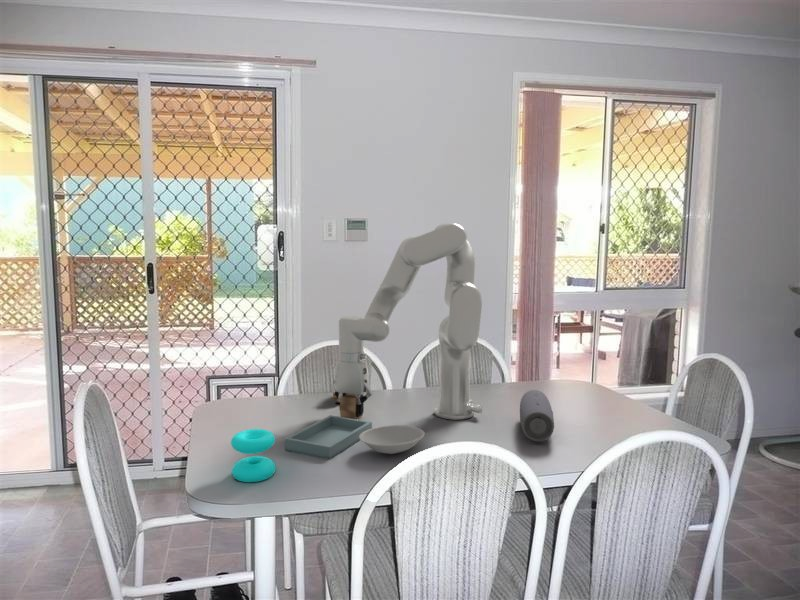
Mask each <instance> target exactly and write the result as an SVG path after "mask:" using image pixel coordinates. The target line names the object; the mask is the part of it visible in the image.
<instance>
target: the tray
mask: <svg viewBox="0 0 800 600" xmlns="http://www.w3.org/2000/svg"><path fill="white" fill-rule="evenodd" d="M371 428H373V422H372V421H367V420H361V419H358V420H356V419H350V418H344V417H340V416H337V415H331V414H330V415H328V416H326V417H324V418H322V419H320V420H318V421H316V422H314V423H312V424H310V425H309V426H307V427H305V428H302V429H300V430H299V431H297V432H295V433H293V434H291V435H289V436H287V437H285V438H284V450H285V452H286V451H287V452H290V453H291V452H293V453H295V454H303V455H306V456H309V457H310V456H311V457H315V458H321V459H326V460H332V459H333V458H335V457H336V456H338V455H340V454H341V453H343V452H345V451H347V450H348V449H349V448H350V447H352V446H353V445H355V444H357V443H359V442H361V440H360V439H359V435H360V434H361V433H362V432H364V431H366V430H368V429H371Z"/></svg>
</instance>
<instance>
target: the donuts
mask: <svg viewBox="0 0 800 600" xmlns="http://www.w3.org/2000/svg"><path fill="white" fill-rule="evenodd" d="M275 440H276V438H275V435H274V433H273V432H272V431H270V430H267V429H262V428H252V429H245V430H242V431H239V432H237V433H235V434H234V435H233V436H232V438H231V439H230V446H231V447H232V449H233V450H235V451H236V452H239V453H241V454H247V455H248V454H250V455H251V454H252V456H247V457H243V458H242V459H240V460H238V461H236V462H235V463H234V465H233V466H232V469H231V474H232V476H233V478H234V479H235V480H237V481H239V482H243V483H244V482H245V483H257V482H262V481H265V480H267V479H270V478H271V477H272V476H273V475H274V474H275V472H276V464H275V461H273V460H272V459H271V458H270V457H267V456H261V455H254V454H259V453H264V452H266V451H268V450H269V449H270V448H272V447H273V445H274V444H275V442H276V441H275Z"/></svg>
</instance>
